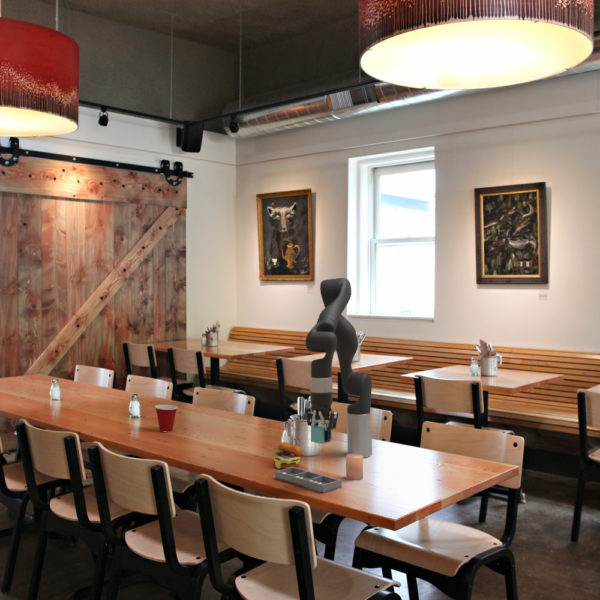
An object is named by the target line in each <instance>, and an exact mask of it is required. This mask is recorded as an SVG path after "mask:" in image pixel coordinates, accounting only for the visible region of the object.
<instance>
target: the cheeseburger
mask: <svg viewBox="0 0 600 600" xmlns="http://www.w3.org/2000/svg"><path fill="white" fill-rule="evenodd" d="M277 448H278V450H280V451H276V452H274V454H275V455H274V458H273V461H274V463H273V464H274V466H275V468H276V469H278V470H279V469H280V470H281V469H286V468H290V467H296V468H298V466H299V464H300V461H301V460H300V459H301V457H302V456H303V451H302V447H301V446H299V445H295V444H294V445H292V444H291V443H290V442H287V441H283V442H281V443H280V444H279V446H278V447H277Z"/></svg>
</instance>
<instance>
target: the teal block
mask: <svg viewBox="0 0 600 600" xmlns="http://www.w3.org/2000/svg"><path fill="white" fill-rule="evenodd" d="M327 427H328V425H327ZM324 431H325V430H324V426H323V424H319V425H318V426H313V427H311V426H310V442H312V443H317V444H321V445H322V444H323V445H324V444H326V443H332V442H333V441H332V439H333V432H332V431H333V429H332V430H331V440H330V441H329V442H325V441H324Z"/></svg>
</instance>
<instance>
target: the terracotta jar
mask: <svg viewBox="0 0 600 600" xmlns="http://www.w3.org/2000/svg"><path fill="white" fill-rule="evenodd" d="M345 478H347V479H346V480H348V481H353V480H357V481H362V480H363V479H364V458H363V455H361V454H348V455H347V454H346V455H345Z"/></svg>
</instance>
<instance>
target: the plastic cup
mask: <svg viewBox="0 0 600 600" xmlns="http://www.w3.org/2000/svg"><path fill="white" fill-rule="evenodd" d="M154 408H155V411H156V417H157V422H158V426H159V431H171V430H172V431H174V424H175V418H176V417H175V416H176V412H177V410H178V409H179V407H178V405H174V404H157V405H155V406H154ZM172 431H171V432H172Z"/></svg>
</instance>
